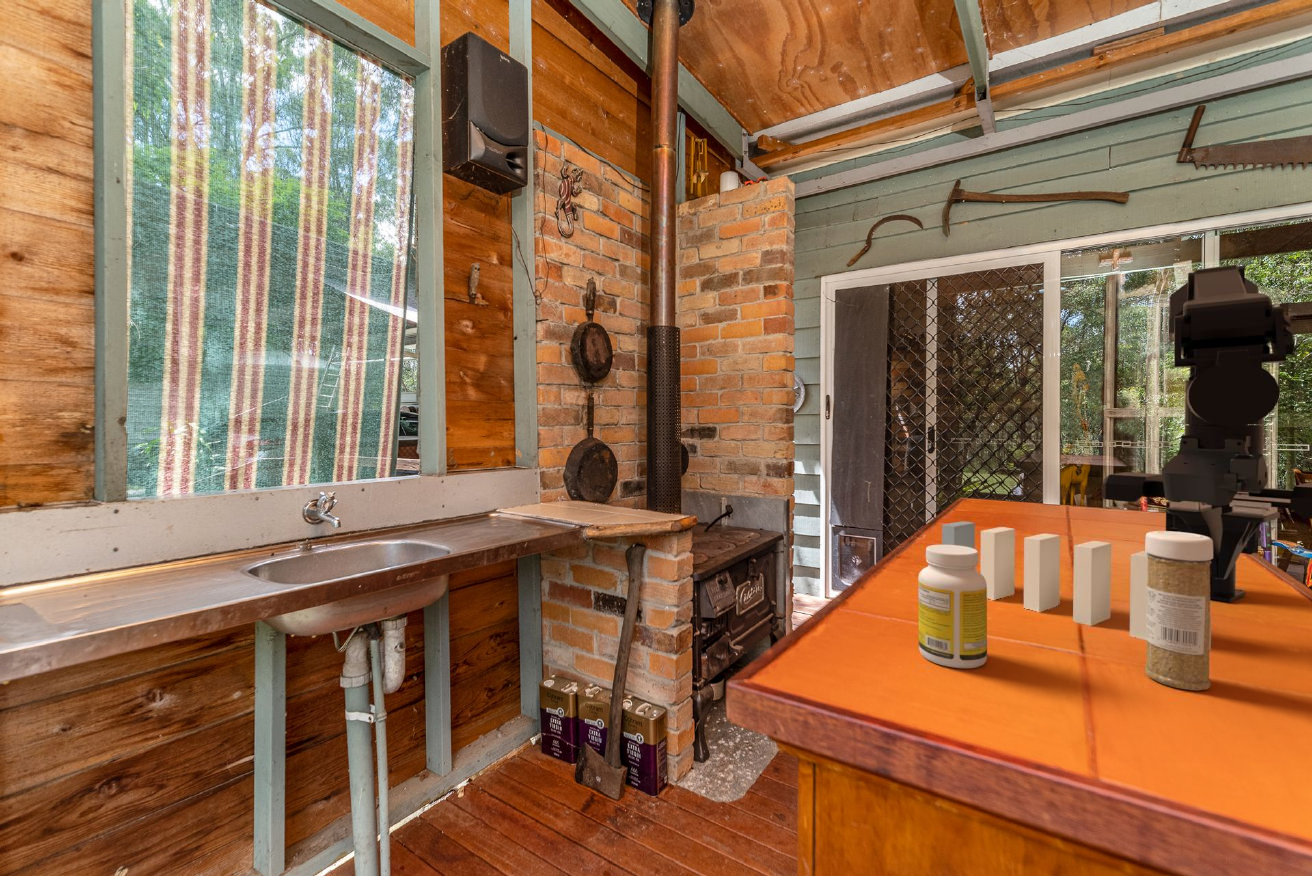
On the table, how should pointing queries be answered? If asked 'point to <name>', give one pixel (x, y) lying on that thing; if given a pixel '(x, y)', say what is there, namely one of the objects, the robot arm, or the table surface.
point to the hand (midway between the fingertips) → (1219, 578)
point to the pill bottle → (952, 608)
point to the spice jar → (1178, 609)
